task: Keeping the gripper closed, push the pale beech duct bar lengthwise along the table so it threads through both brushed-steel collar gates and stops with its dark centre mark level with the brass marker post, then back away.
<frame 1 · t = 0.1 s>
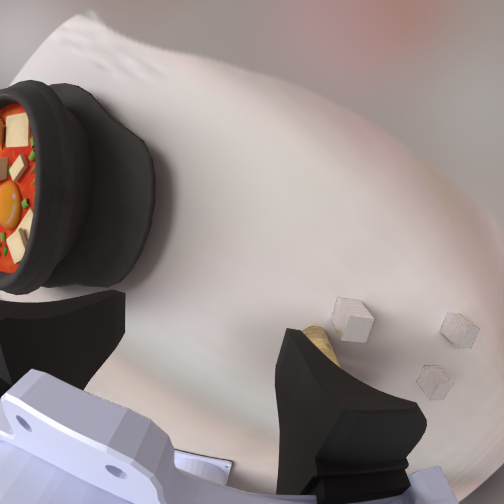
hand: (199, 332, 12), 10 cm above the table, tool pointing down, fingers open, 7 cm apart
collar gates: (393, 346, 22), on the table
casserole: (49, 184, 21), on the table
aperture marker: (312, 338, 22), on the table
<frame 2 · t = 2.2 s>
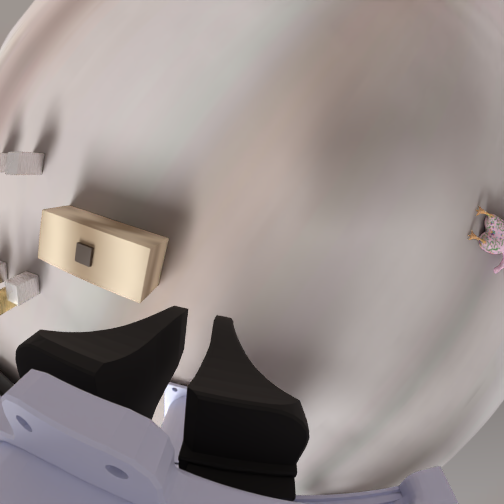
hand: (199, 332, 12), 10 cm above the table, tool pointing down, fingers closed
duct bar: (111, 243, 21), on the table
collar gates: (14, 221, 21), on the table
aperture marker: (18, 292, 23), on the table
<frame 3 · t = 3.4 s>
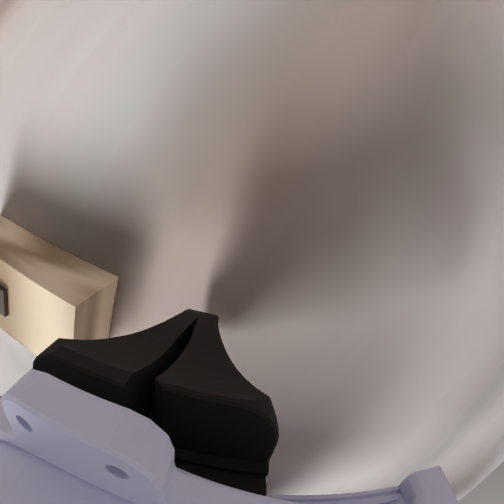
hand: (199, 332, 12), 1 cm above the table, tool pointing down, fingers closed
duct bar: (46, 273, 13), on the table
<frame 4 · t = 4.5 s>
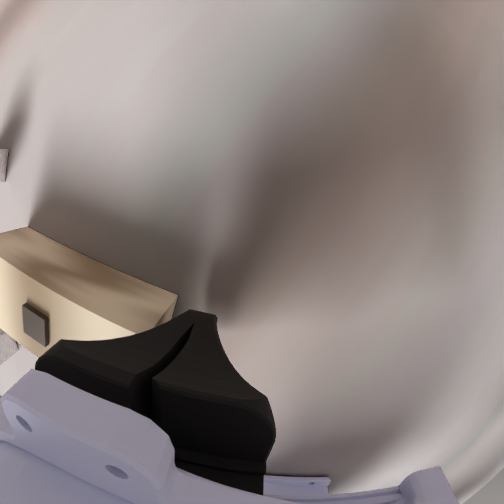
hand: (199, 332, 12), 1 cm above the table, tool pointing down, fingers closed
duct bar: (84, 292, 13), on the table, touching gripper
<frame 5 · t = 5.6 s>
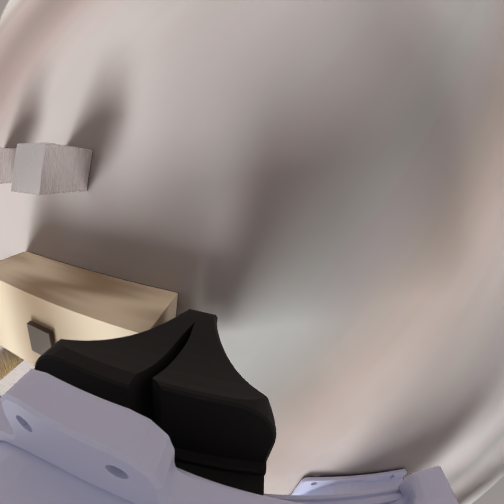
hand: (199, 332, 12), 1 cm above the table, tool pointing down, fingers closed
duct bar: (88, 305, 13), on the table, touching gripper
collar gates: (33, 271, 13), on the table
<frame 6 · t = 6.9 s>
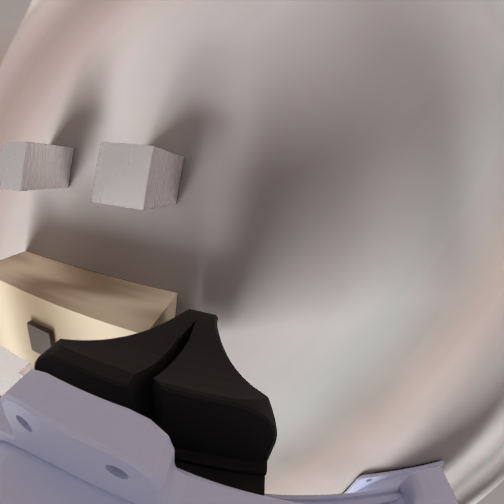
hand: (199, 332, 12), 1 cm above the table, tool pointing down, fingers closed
duct bar: (87, 305, 13), on the table, touching gripper
collar gates: (93, 291, 13), on the table
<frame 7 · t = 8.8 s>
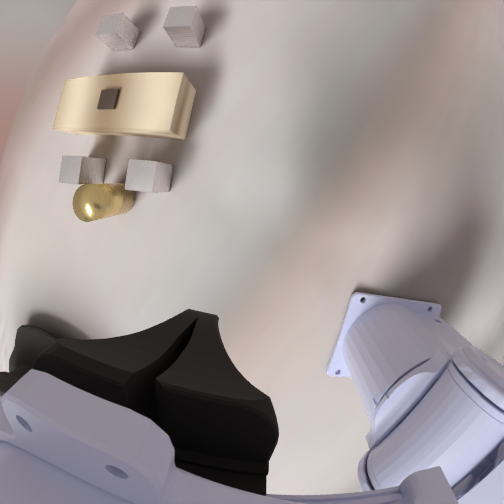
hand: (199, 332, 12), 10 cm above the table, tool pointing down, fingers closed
duct bar: (133, 112, 19), on the table
collar gates: (138, 100, 18), on the table
casserole: (67, 401, 26), on the table
aperture marker: (121, 198, 20), on the table
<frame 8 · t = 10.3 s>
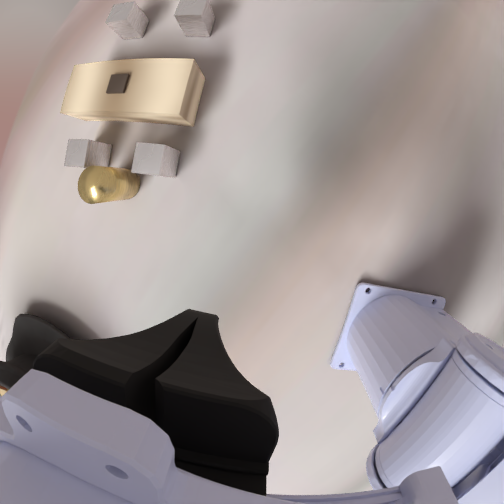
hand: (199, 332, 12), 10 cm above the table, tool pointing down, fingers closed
duct bar: (141, 99, 19), on the table
collar gates: (147, 87, 18), on the table
casserole: (65, 394, 26), on the table
aperture marker: (126, 184, 20), on the table
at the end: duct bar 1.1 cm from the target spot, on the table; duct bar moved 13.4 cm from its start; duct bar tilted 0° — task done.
